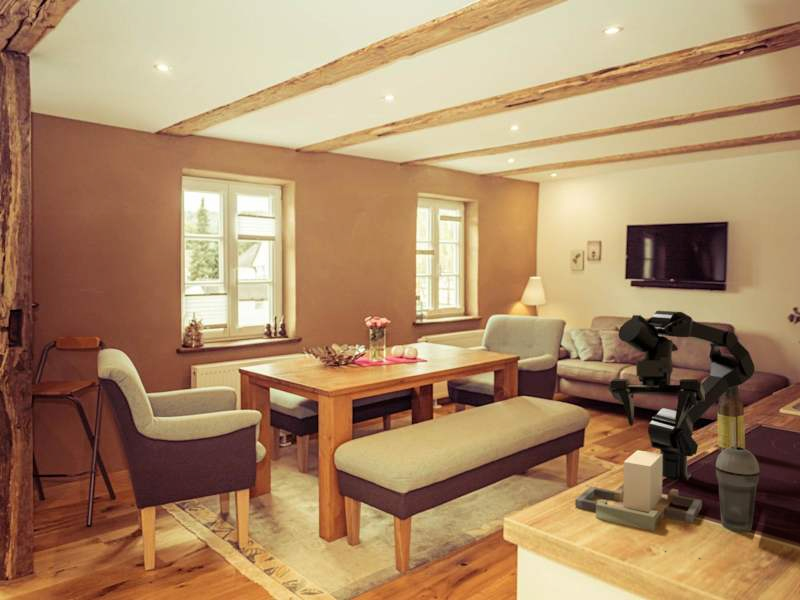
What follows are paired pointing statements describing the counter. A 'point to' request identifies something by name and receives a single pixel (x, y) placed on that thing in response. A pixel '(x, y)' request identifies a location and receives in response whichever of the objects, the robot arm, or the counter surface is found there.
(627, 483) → the cream block
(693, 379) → the robot arm
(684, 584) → the counter surface
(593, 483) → the counter surface
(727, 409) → the sauce bottle
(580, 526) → the counter surface
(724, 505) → the beverage cup
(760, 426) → the counter surface
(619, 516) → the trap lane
